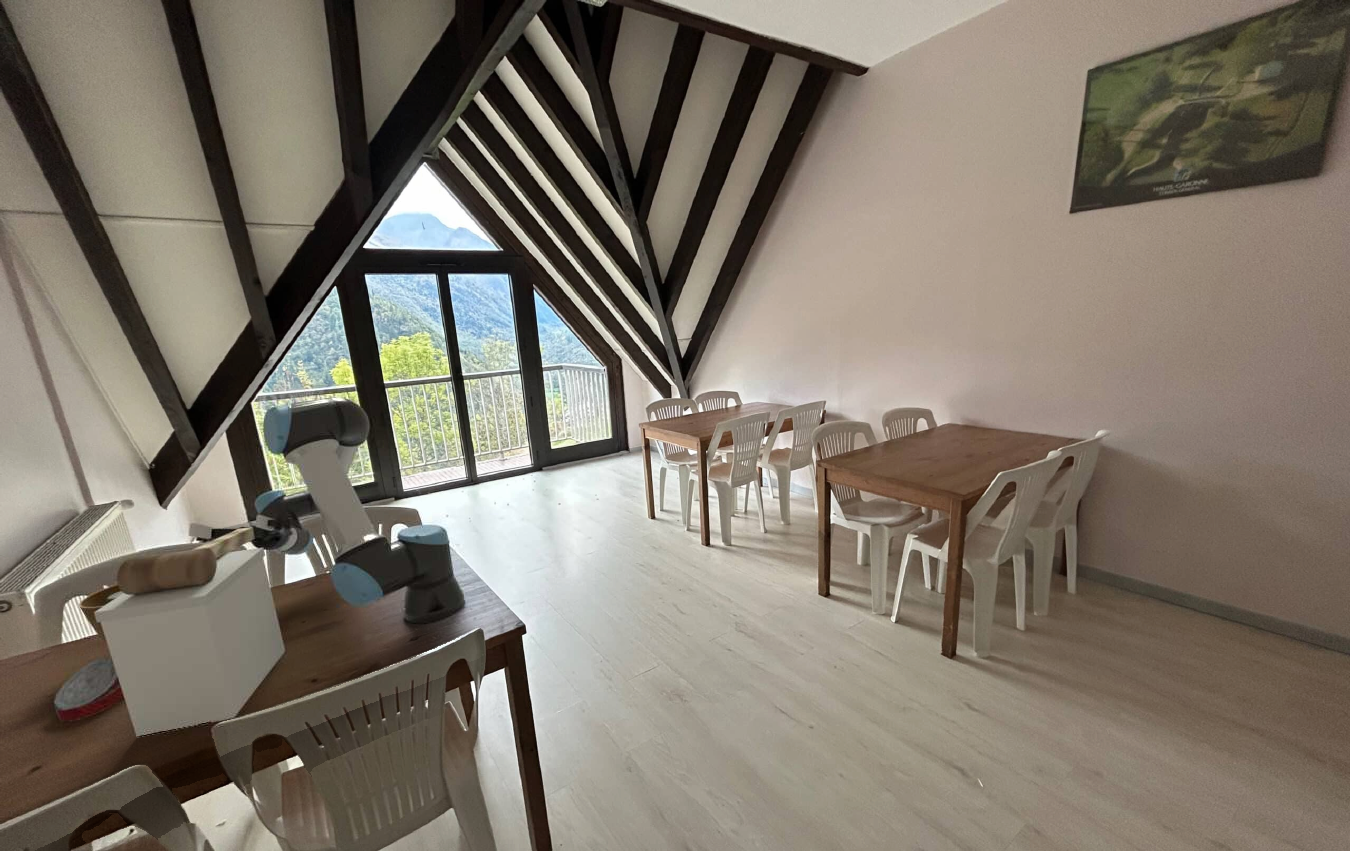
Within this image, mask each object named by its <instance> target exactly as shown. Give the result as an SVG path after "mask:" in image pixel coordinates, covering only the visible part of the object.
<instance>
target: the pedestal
mask: <svg viewBox="0 0 1350 851" xmlns="http://www.w3.org/2000/svg"><path fill="white" fill-rule="evenodd" d="M265 556H266V553H265V550H264V548H252V549H251V548H250V549H243V550H235V551H230V552H228V553H226V554H224V555H222V556H220V557H218V558H216V561H217V568H216V573H215V575H214V577H213V579H212V580H211V581H210V582H209V583H207V584H201V585H194V586H187V587H180V588H174V589H167V590H160V591H153V592H146V593H140V594H133V595H127V594H125V593H123V594H122V595H120V596H119V597H117V598H116V599H114V600H112V601H111V602H109V603H108V604H106V605H105V606H103V607H102V608H100V609H99V610H97V611H96V612H94V614H95V618H96V621H97V622H101V625H102V628H103V632H104V635H105V638H106V641H107V644H108V645H107V644H106V645H107V647H108V650H109V653H110V658H112V660H113V663H114V666H115V669H116V673H117V676H118V679H119V682H120V685H121V688H122V692H123V695H124V697H123V699H124V701H125V703H126V707H127V711H128V713H129V717H130V720H131V723H132V725H133V726H132V727H133V729H134V733H135V735H136V737H137V736H140V735H147V734H151V733H154V732H159V731H167V730H171V729H176V730H178V729H177V728H181V729H184V728H183V727H186V728H189V727H188V726H191V727H195V726H194V725H196V726H199V725H198V724H201V723H206V722H210V721H211V723H215V722H221V721H226V720H230V719H234V718H236V716H237V714H239V712H240V711H241V710H242V709H243V707H244V705H245V704H246V703H247V702H248V700H249V699H250V697H251V696H253V694H254V693H255V691H256V690H257V688H258V687H259V686H260V685H261V684H262V682H263V681H264V679H265V678H267V675H268V674H269V673H270V672H271V670H272V669H273V668H274V666H276V664H277V663H278V661H279V660H280V659H281V658H282V656H283V655H284V653H285V652H286V648H285V644H284V640H283V637H282V632H281V628H280V623H279V620H278V615H277V612H276V611H277V610H276V606H275V602H274V597H273V594H272V589H271V585H270V581H269V576H268V572H267V568H266V564H265V559H264V557H265ZM206 724H207V723H206ZM201 725H202V724H201ZM167 732H168V731H167ZM147 736H148V735H147Z"/></svg>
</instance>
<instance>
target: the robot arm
mask: <svg viewBox="0 0 1350 851" xmlns="http://www.w3.org/2000/svg"><path fill="white" fill-rule="evenodd" d="M369 420H370V419H369V417H368V415H367V413H366V411H365V410H364V408H362V407H361V405H359V404H358V403H357V402H354V401H353V400H352V399H348V398H345V397H340V396H335V397H332V396H331V397H326V398H319V399H313V400H307V401H299V402H293V403H289V402H287V403H285V404H281V405H280V404H279V405H275V406H272V407H269V409H268V410H267V411H266V412H265V414H264V417H263V423H262V427H263V428H262V431H263V439H264V441H265V445H266V447H267V450H268V451H269V452H270V453H271V454H273V455H281V454H282V456H283V458H284V460H285V461H286V463H288V464H291V465H294V466H296V467H297V469H298V471H299V474H300V476H301V477H302V479H303V481H304V483H305V486H306V488H307V489H306V490H302V491H299V492H295V493H291V494H288V495H287V494H286V493H285V492H284V491H283V490H281V489H277V490H274V489H273V490H269V491H267V492H265V493H262V494H260V495H259V496H258V497H257V498H256V499H255V501H254V506H255V509H256V511H257V513H258V515H256V521H255V525H252V526H240V527H237V528H213V527H212V526H210V525H209V526H208V525H204V524H198V523H194V522H193V523H189V528H188V536H191V537H193V538H195V541H196V542H202V543H208V542H211V541H213V540H215V539H217V538H220V537H222V536H224V535H226V534H228V533H231V532H233V531H235V530H237V529H242V528H250V527H253V532H254V538H255V539H253V540H251V541H249V542H248V543H251V544H252V546H254V547H255V549H257V548H264V551H271V552H276V554H277V555H279V554H285V555H289V556H292V555H295V556H296V555H297V556H299V555H302V554H305V553H306V552H308V551H309V550H310V549H311V547H312V546H313V543H314V536H313V534H312V532H310V531H309V530H307V529H305V528H304V527H303V525H302V523H301V521H300V520H299V519H300V518H303V517H307V516H310V515H313V514H314V515H315V514H316V513H319V514H320V517H321V518H322V521H323V523H324V525H325V527H326V528H327V531H328V532H329V535H330V537H331V539H332V541H333V543H334V545H335V547H336V550H337V552H336V554H335V556H334V558H333V560H334V563H335V564H334V566H333V567H332V568H331V572H330V576H331V579H332V583H333V585H334V588H335V590H336V591H337V593H338V594H339V596H340V597H341V598H343V600H344V601H345V602H347V603H348V604H350V605H352V606H354V607H365V606H368V605H370V604H372V603H375V602H379V601H380V600H381V599H382V598H385V597H388V596H389V595H392V594H394V593H395V592H397V591H399V590H401V589H403V588H405V587H406V590H405V596H404V603H403V606H402V613H403V618H404V619H405V621H407V622H409V623H413V624H429V623H433V622H438V621H440V620H444V619H446V618H448V617H450V616H453V614H455V613H457V612H458V611H459V610H460V609H461V608H462V607H463V606H464V604H465V595H464V590H463V589H462V588H461V587H460V585H459V582H458V580H457V579H456V577H455V573H454V567H453V561H452V554H451V549H450V539H449V536H448V532H447V530H446V528H445V527H443V526H441V525H437V524H420V525H414V526H413V525H412V526H409V527H406V528H402V529H401V530H399V532H398V533H397V536H396V538H397V540H395V541H393V542H389V541H388V539H387V537H386V535H383V534H380V533H377V532H376V531H375V528H374V527H373V524H372V523H371V520H370V519H369V516H368V514H367V513H366V511H365V509H364V506H363V504H362V502H361V501H360V498H359V497H358V494H357V493H356V490H355V488H354V487H353V485H352V482H351V480H350V479H349V476H348V475H349V472H350V469H351V467H352V464H353V463H354V459H355V457H356V455H357V451H358V450H359V448H360V446H361V445H363V444H364V443H366V440H367V439H368V436H369V432H370V421H369Z"/></svg>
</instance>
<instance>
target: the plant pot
mask: <svg viewBox="0 0 1350 851" xmlns="http://www.w3.org/2000/svg"><path fill="white" fill-rule="evenodd" d="M118 592H121V590H120V588H119V586H118V583H117V584H114V585H111V586H109V587H106V588H103V589H100V590H98V591H96V592H94V593H92V594H90V595H88V596H87V597H85V598H84V599H82V600H81V601H80V602H79V603H78V605H79V607H80V609H81V611H82V614H83V615H84V616H85V618H86V620H87V621H88V622H89V624H90V626H91V627H92V629H94V631H95V632H96V634H97V635H98V636H99V637H100V639H101V640H102V641H103V642H105V644H106V645H107V646H108V644H107V641H106V638H105V635H104V632H103V628H102V625H101V622H97V621H96V618H95V614H94V612H96V611H97V610H99V609H100V608H102V607H103V606H105V605H106V604H108V599H107V598H108V597H109V596H111V595H113V594H115V593H118Z"/></svg>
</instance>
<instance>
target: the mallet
mask: <svg viewBox="0 0 1350 851" xmlns="http://www.w3.org/2000/svg"><path fill="white" fill-rule="evenodd" d="M249 527H250V528H242V529H237V528H236V529H237V530H235V531H233V532H231V533H228V534H226V535H224V536H222V537H220V538H217V539H215V540H213V541H207V542H205V543H204V544H202V545H200V546H198V547H195V548H193V549H188V550H181V551H173V552H166V553H165V552H164V553H158V554H157V553H156V554H151V555H144V556H135V557H131V558H127V559H125V560H124V561H123V562H122V564H121V565H120V567H119V568H118V570H117V576H116V581H117V584H118V586H119V588H120V590H121V591H122V592H123V593H125V594H127V595H133V594H140V593H146V592H153V591H160V590H167V589H174V588H180V587H187V586H194V585H201V584H207V583H209V582H210V581H211V580H212V579H213V577H214V575H215V573H216V568H217V561H216V558H218V557H220V556H222V555H224V554H226V553H228V552H233V551H234V550H236V549H237V548H238V549H239V547H241V546H243V545H245V544H248V543H250V542H249V541H251V540H253V539H255V538H254V532H253V527H252V526H249Z"/></svg>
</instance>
